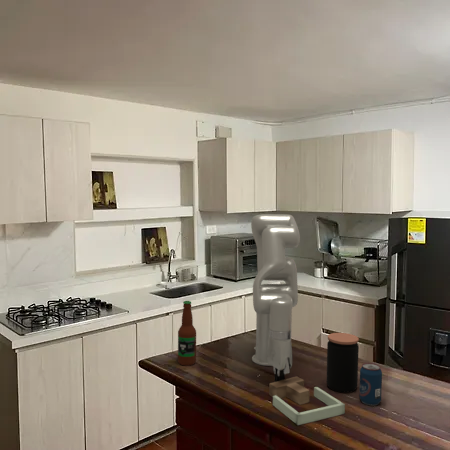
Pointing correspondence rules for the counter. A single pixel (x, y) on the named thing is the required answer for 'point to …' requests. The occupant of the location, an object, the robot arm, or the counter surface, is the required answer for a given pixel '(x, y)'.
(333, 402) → the frame
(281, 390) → the t block
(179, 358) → the bottle
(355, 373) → the coffee jar
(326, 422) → the counter surface
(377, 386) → the soda can
